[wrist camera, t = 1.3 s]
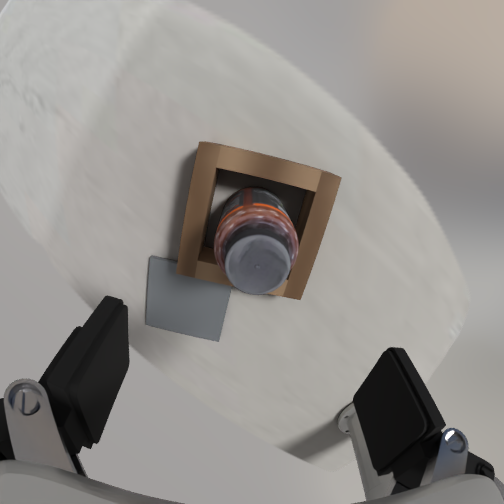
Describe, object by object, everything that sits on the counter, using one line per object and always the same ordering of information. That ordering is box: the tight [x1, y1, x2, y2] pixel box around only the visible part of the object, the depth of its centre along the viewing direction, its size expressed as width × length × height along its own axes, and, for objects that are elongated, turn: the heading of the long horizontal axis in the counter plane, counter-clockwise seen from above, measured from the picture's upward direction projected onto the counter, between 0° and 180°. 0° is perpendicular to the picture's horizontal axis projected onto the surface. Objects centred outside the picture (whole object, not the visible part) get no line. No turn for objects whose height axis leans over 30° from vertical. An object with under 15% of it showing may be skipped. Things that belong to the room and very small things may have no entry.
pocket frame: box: [176, 142, 341, 300], centre depth 25 cm, size 12×12×4 cm
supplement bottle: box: [214, 187, 299, 295], centre depth 22 cm, size 6×6×11 cm
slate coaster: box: [146, 256, 232, 342], centre depth 30 cm, size 9×9×1 cm
